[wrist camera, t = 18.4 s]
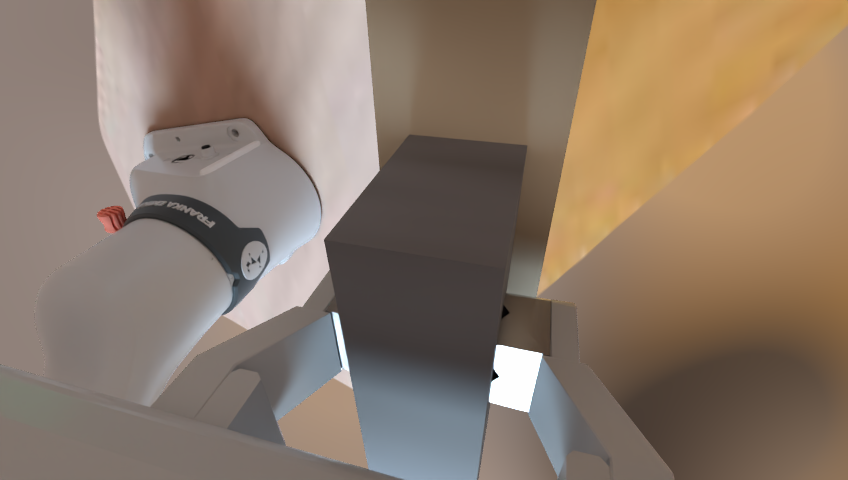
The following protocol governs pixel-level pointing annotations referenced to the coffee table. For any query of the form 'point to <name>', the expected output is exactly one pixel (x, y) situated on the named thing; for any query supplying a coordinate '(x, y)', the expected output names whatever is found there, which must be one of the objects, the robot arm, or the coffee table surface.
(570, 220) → the coffee table surface
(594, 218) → the coffee table surface
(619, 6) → the coffee table surface
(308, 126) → the coffee table surface
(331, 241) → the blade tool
